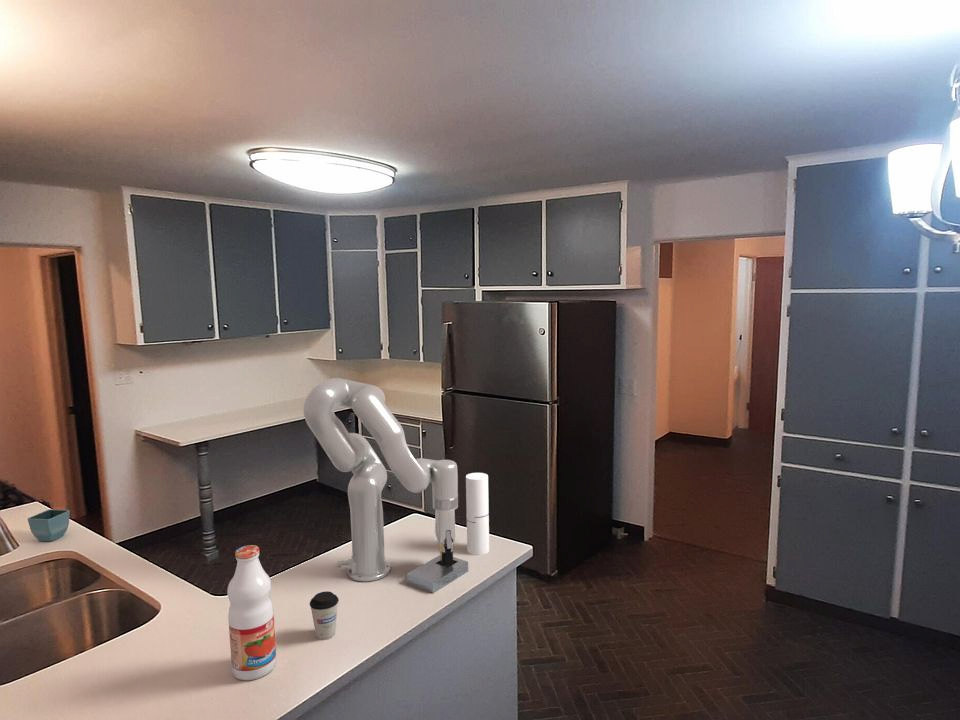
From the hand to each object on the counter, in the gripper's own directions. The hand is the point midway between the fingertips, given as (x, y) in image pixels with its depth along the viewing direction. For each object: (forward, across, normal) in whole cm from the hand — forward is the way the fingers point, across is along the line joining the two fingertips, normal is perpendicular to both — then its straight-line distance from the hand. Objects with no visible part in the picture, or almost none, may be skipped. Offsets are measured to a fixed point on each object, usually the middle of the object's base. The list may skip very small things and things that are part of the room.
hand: (446, 560), depth 176 cm
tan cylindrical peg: (+2, 0, 0) cm, 2 cm away
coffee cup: (+4, +26, -34) cm, 43 cm away
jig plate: (+4, +3, -3) cm, 5 cm away
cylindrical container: (+4, -12, +12) cm, 18 cm away
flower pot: (+4, -56, -132) cm, 143 cm away
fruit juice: (+4, +36, -49) cm, 61 cm away
